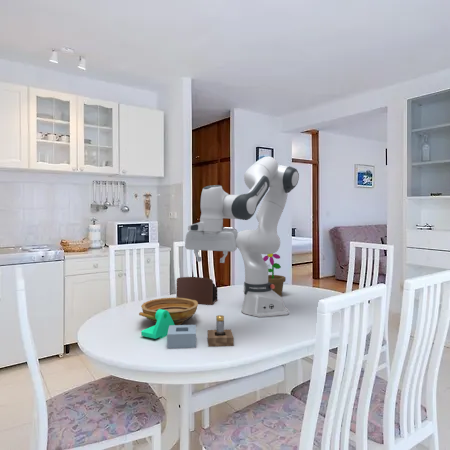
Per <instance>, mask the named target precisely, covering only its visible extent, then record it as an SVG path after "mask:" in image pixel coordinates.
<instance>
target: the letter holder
mask: <svg viewBox="0 0 450 450" xmlns="http://www.w3.org/2000/svg"><path fill="white" fill-rule="evenodd" d="M175 298H186V299H191V300H196V301H197V302H198V305H205V306H213V305H214V304H215V303H216V302H218V287H217V285H216V284H215V283H214V281H213V279H211V278H207V277H200V276H199V277H198V276H180V277H177V279H176V297H175Z"/></svg>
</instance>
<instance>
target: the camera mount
mask: <svg viewBox="0 0 450 450" xmlns="http://www.w3.org/2000/svg"><path fill="white" fill-rule="evenodd" d="M155 318H156V320H157V322H155V325H151V326H150V327H147V328H144V329H142V330H141V331H140V334H141V335H140V336H142V337H146V338H151V339H155V340H156V339H158V338H160V339H164V338H165V337H167V334H168V329H169V325H175V324H174V322H173V320H172V318H171V316H170V314H169V312H168V311H167V310H162V309H159V310H157V312H156V314H155Z"/></svg>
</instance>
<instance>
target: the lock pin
mask: <svg viewBox="0 0 450 450" xmlns="http://www.w3.org/2000/svg"><path fill="white" fill-rule="evenodd" d="M215 326H216V328H215V330H216V336H222V335H224V330H225V315H221V314H219V315H216V325H215Z"/></svg>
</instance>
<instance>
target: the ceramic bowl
mask: <svg viewBox="0 0 450 450" xmlns="http://www.w3.org/2000/svg"><path fill="white" fill-rule="evenodd" d="M198 306H199V304H198V302H197V301H196V300H191V299H186V298H176V297H163V298H156V299H151V300H148V301H145V302H143V303H142V304H141V309H142V312H141V311H140V312H139V313H138V315H139V316H142V317H144V318H146V319H148V320H150V321H152V322H155V323H156V322H157V320H156V318H155V314H156V312H157V310H159V309H162V310H167V311H168V312H169V314H170V316H171V318H172V320H173V322H174V324H175V325H183V323H184V321H187V320H188V319H191V318H192V317H194V315H195V314H196V313H197V309H198Z"/></svg>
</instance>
